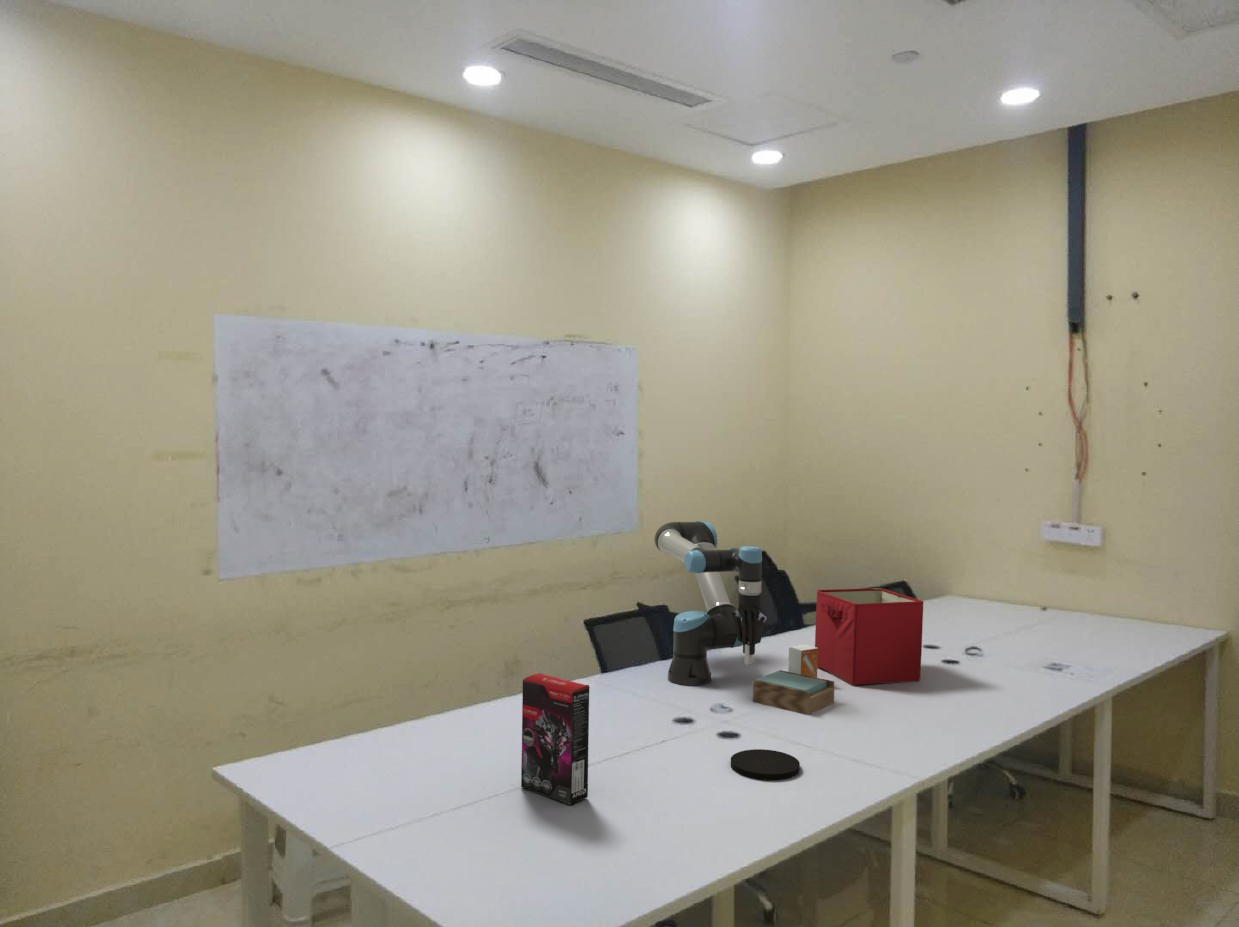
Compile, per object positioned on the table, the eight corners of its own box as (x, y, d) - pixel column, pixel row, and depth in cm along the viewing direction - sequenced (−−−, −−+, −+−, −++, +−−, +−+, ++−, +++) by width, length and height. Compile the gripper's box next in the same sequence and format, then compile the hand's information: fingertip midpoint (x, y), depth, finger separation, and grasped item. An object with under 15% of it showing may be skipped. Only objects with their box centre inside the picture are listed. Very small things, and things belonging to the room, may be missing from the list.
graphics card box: (518, 787, 227) (519, 677, 226) (538, 779, 233) (539, 671, 231) (570, 807, 217) (572, 691, 215) (590, 798, 222) (592, 684, 221)
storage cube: (881, 661, 355) (883, 586, 353) (927, 681, 329) (929, 599, 327) (806, 667, 345) (808, 589, 343) (847, 687, 318) (849, 603, 317)
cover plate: (755, 685, 302) (755, 679, 301) (777, 676, 312) (777, 670, 312) (805, 696, 290) (805, 690, 290) (826, 687, 301) (826, 681, 301)
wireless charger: (753, 751, 256) (753, 744, 256) (811, 767, 245) (812, 760, 245) (717, 769, 242) (717, 762, 242) (777, 787, 231) (777, 779, 231)
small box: (800, 688, 317) (801, 650, 316) (787, 683, 322) (788, 646, 321) (817, 685, 321) (818, 647, 321) (804, 680, 326) (805, 643, 326)
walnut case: (752, 701, 301) (753, 680, 300) (779, 690, 314) (780, 669, 313) (808, 715, 288) (808, 692, 288) (833, 702, 301) (834, 681, 301)
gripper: (727, 592, 312) (725, 662, 312) (760, 597, 303) (759, 669, 304) (739, 589, 317) (738, 658, 318) (772, 594, 309) (771, 664, 310)
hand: (748, 663), depth 311 cm, fingers closed
